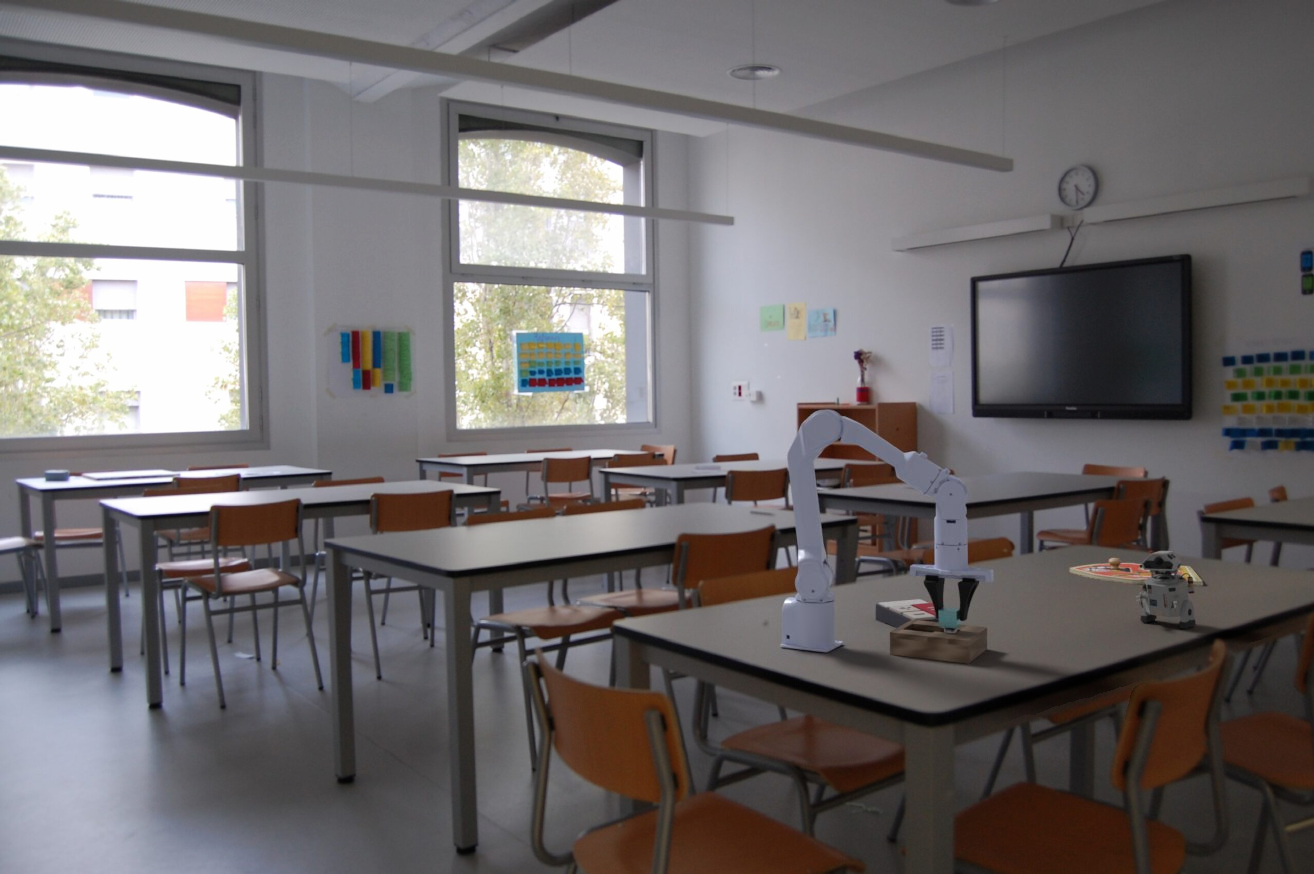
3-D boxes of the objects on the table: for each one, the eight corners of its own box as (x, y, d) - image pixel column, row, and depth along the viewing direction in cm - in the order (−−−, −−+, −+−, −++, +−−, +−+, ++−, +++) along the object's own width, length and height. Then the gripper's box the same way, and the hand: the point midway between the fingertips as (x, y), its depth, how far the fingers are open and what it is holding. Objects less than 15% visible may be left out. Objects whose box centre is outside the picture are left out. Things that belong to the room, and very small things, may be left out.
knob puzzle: (1205, 589, 242) (1204, 570, 242) (1070, 583, 253) (1070, 565, 252) (1188, 570, 269) (1188, 553, 269) (1068, 565, 280) (1068, 549, 280)
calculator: (914, 617, 198) (874, 600, 212) (913, 639, 198) (874, 620, 212) (962, 613, 201) (920, 596, 215) (962, 634, 202) (920, 616, 216)
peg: (936, 654, 182) (935, 610, 182) (943, 649, 186) (942, 605, 185) (958, 657, 180) (958, 612, 180) (965, 651, 183) (964, 607, 183)
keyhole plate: (890, 654, 183) (889, 632, 183) (912, 640, 193) (911, 619, 193) (968, 663, 175) (968, 640, 175) (987, 649, 185) (987, 627, 185)
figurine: (1125, 627, 201) (1125, 551, 201) (1154, 618, 208) (1154, 545, 208) (1172, 634, 194) (1172, 556, 194) (1200, 625, 201) (1200, 550, 201)
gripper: (904, 543, 183) (904, 618, 184) (986, 548, 175) (986, 627, 176) (916, 539, 189) (917, 611, 190) (996, 543, 181) (997, 619, 182)
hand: (951, 618), depth 183 cm, fingers open, 4 cm apart
